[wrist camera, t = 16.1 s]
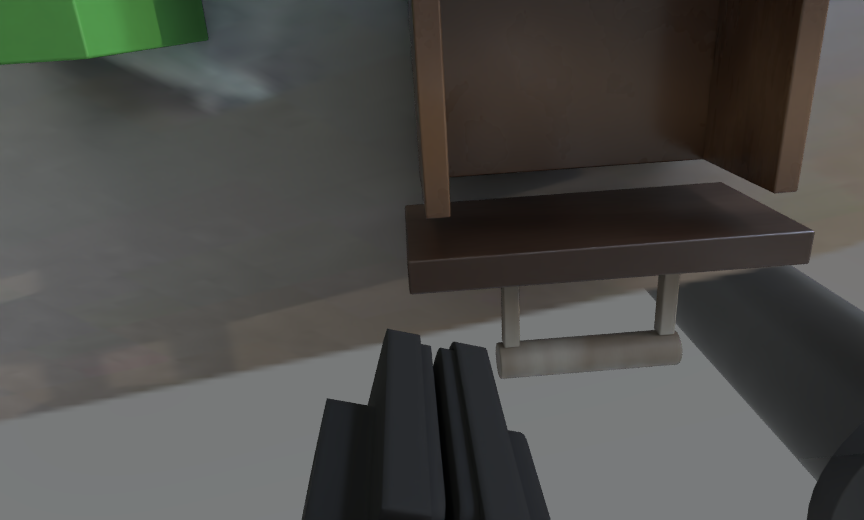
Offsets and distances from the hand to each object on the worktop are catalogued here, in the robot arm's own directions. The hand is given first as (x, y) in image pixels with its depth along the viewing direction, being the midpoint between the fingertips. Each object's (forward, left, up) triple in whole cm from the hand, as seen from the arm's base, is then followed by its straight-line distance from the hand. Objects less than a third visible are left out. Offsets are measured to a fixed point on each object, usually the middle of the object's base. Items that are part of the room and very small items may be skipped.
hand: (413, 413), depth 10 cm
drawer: (+2, -7, -16) cm, 17 cm away
